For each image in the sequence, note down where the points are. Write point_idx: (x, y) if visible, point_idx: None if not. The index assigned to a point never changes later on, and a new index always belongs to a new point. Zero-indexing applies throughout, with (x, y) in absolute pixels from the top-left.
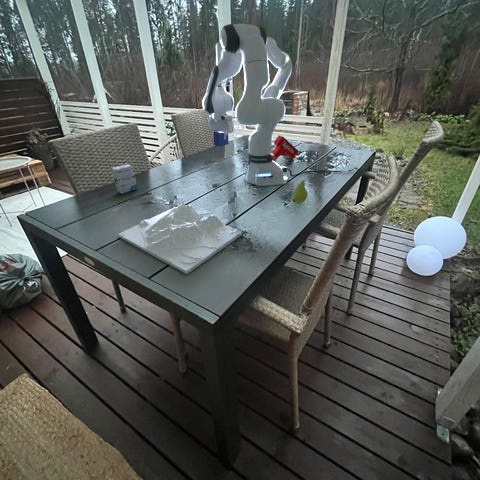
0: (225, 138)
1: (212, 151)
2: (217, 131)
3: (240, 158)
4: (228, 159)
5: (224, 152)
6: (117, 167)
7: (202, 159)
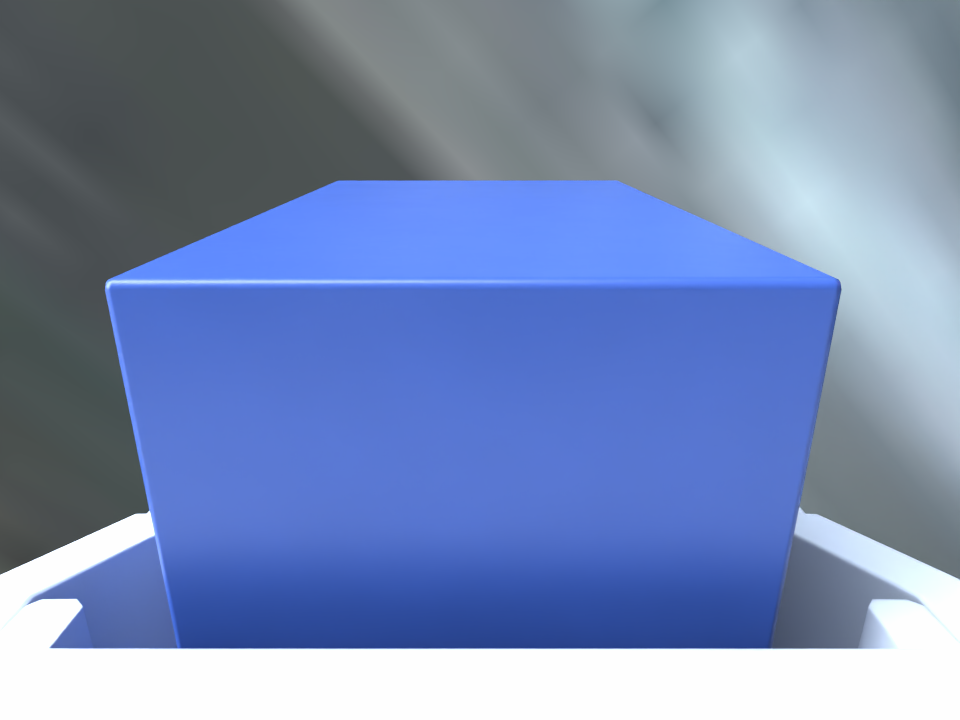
0: None
1: (28, 173)
2: (68, 631)
3: (940, 177)
4: None
5: (306, 35)
6: None
7: None
